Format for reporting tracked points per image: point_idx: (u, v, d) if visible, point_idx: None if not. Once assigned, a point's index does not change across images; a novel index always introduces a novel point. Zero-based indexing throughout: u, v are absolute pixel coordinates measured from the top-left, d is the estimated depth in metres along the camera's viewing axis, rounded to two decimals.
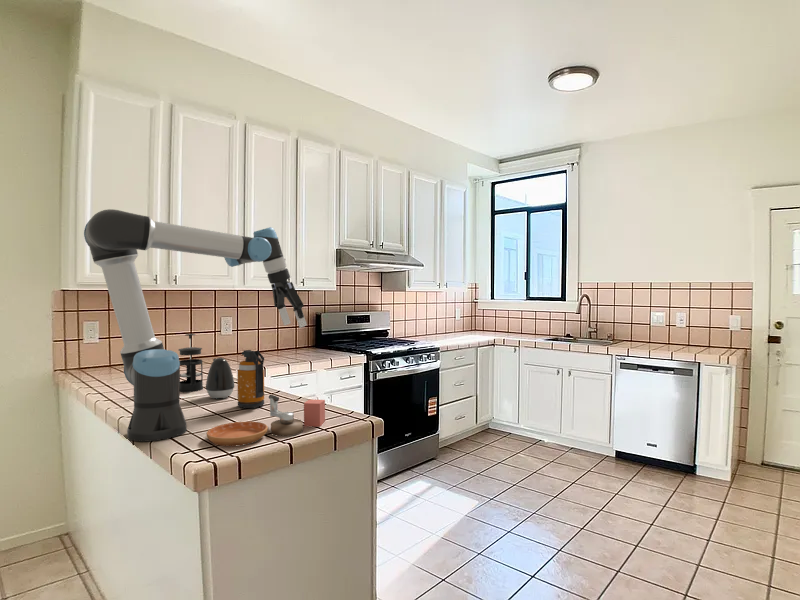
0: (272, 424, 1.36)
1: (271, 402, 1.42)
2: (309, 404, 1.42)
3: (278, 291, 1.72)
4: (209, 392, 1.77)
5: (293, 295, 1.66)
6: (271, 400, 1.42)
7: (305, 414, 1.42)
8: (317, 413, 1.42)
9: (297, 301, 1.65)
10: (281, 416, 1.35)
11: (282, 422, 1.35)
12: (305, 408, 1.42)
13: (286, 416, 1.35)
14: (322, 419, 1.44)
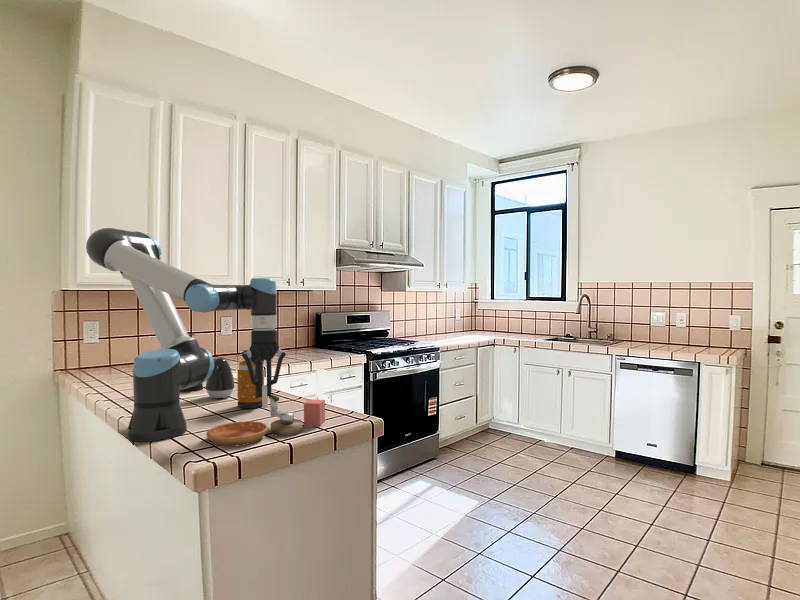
0: (272, 424, 1.36)
1: (271, 402, 1.42)
2: (309, 404, 1.42)
3: None
4: (209, 392, 1.77)
5: None
6: (271, 400, 1.42)
7: (305, 414, 1.42)
8: (317, 413, 1.42)
9: None
10: (281, 416, 1.35)
11: (282, 422, 1.35)
12: (305, 408, 1.42)
13: (286, 416, 1.35)
14: (322, 419, 1.44)
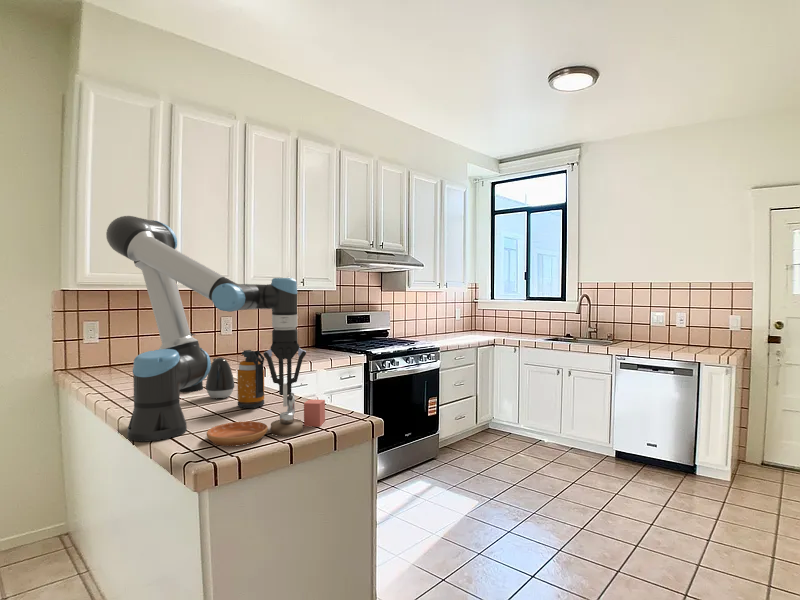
0: (272, 424, 1.36)
1: (287, 400, 1.44)
2: (309, 404, 1.42)
3: None
4: (209, 392, 1.77)
5: None
6: (287, 398, 1.44)
7: (305, 414, 1.42)
8: (317, 413, 1.42)
9: None
10: None
11: (280, 421, 1.36)
12: (305, 408, 1.42)
13: (282, 416, 1.35)
14: (322, 419, 1.44)
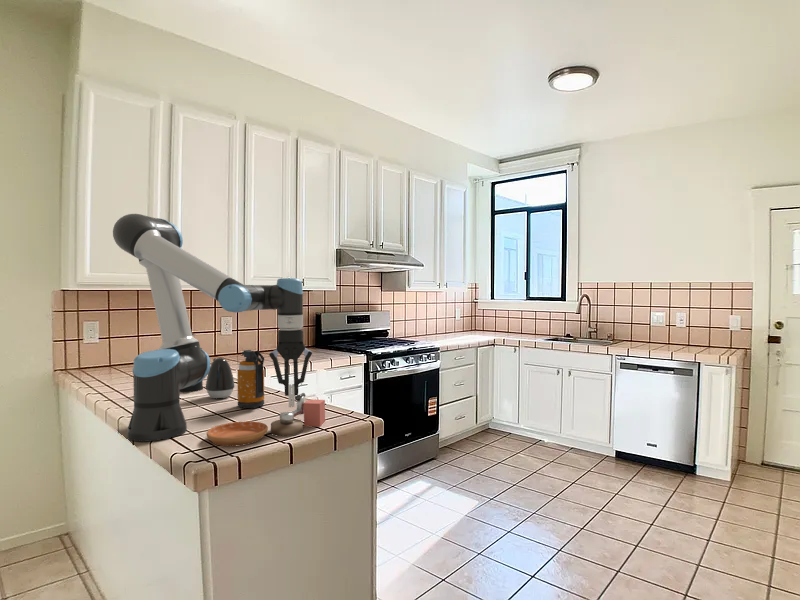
0: (272, 424, 1.36)
1: None
2: (309, 404, 1.42)
3: None
4: (209, 392, 1.77)
5: None
6: None
7: (305, 414, 1.42)
8: (317, 413, 1.42)
9: None
10: None
11: None
12: (305, 408, 1.42)
13: (280, 415, 1.36)
14: (322, 419, 1.44)
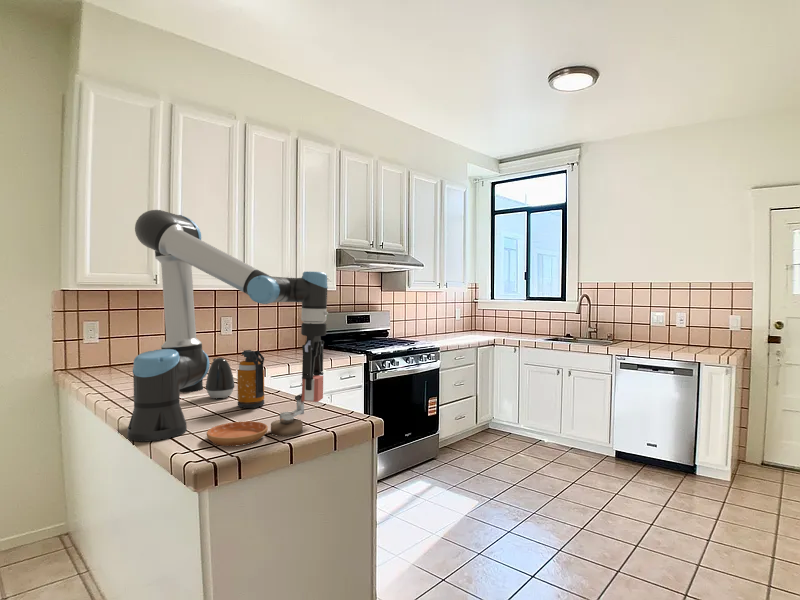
0: (272, 424, 1.36)
1: None
2: None
3: None
4: (209, 392, 1.77)
5: (304, 361, 1.38)
6: None
7: (303, 389, 1.42)
8: (315, 388, 1.42)
9: (305, 370, 1.38)
10: None
11: None
12: (303, 383, 1.42)
13: (280, 415, 1.36)
14: (320, 395, 1.44)
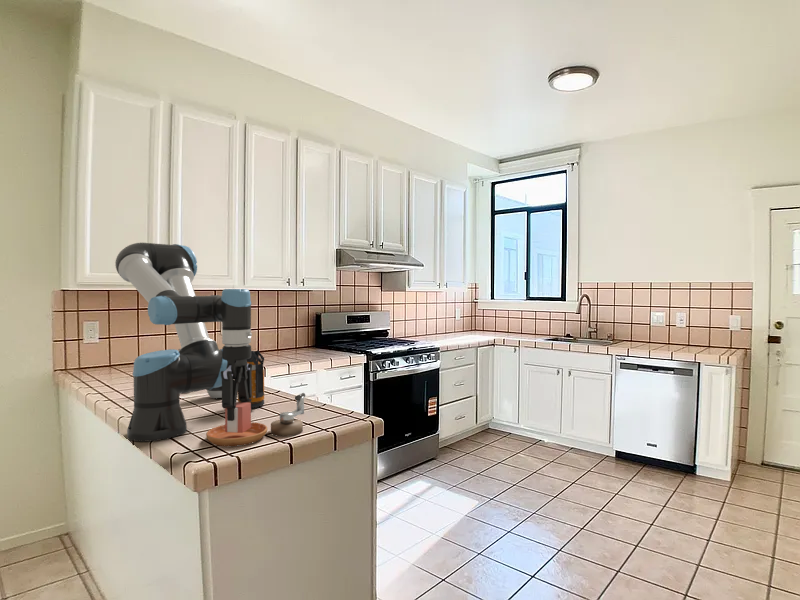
0: (272, 424, 1.36)
1: None
2: None
3: None
4: (209, 392, 1.77)
5: (224, 388, 1.24)
6: None
7: (226, 418, 1.28)
8: (239, 417, 1.28)
9: (225, 399, 1.24)
10: None
11: None
12: (226, 412, 1.28)
13: (280, 415, 1.36)
14: (246, 424, 1.30)
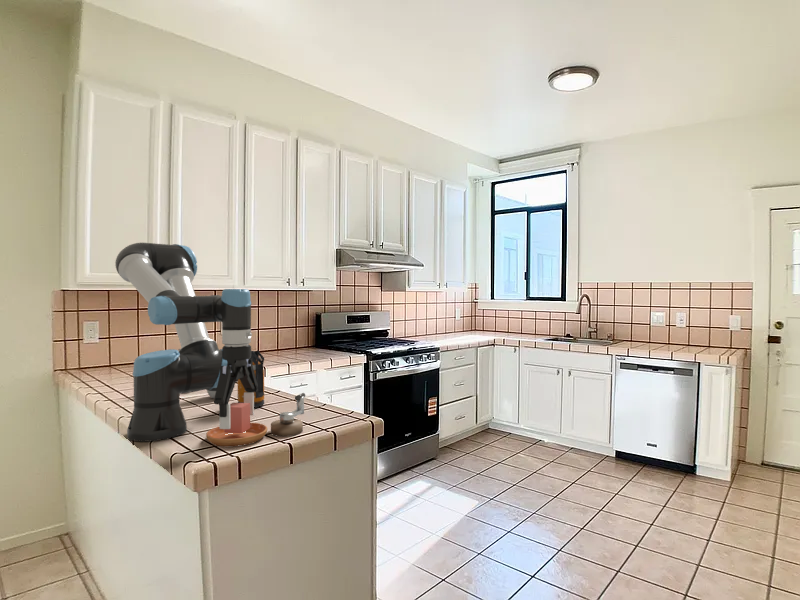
0: (272, 424, 1.36)
1: None
2: (230, 408, 1.28)
3: None
4: (209, 392, 1.77)
5: (220, 383, 1.23)
6: None
7: None
8: (239, 418, 1.28)
9: (218, 393, 1.21)
10: None
11: None
12: None
13: (280, 415, 1.36)
14: (245, 425, 1.30)
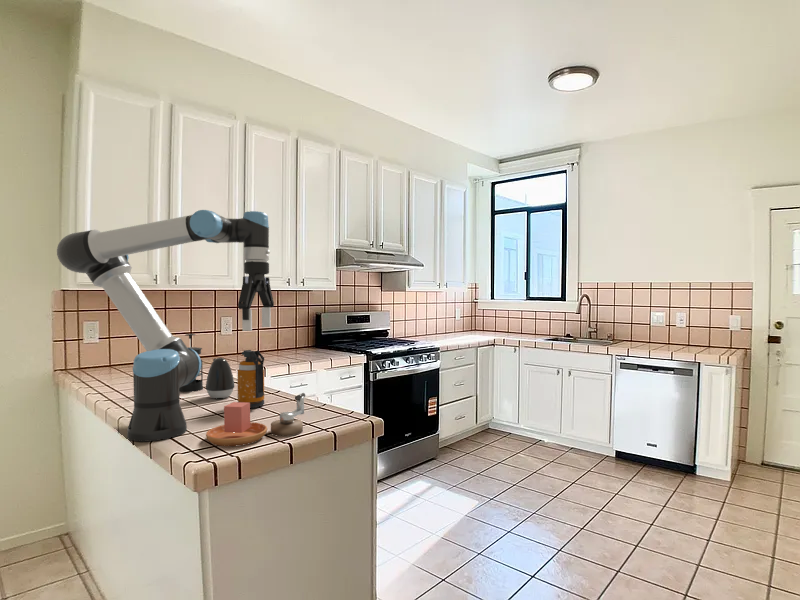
0: (272, 424, 1.36)
1: None
2: (230, 407, 1.28)
3: None
4: (209, 392, 1.77)
5: (243, 290, 1.41)
6: None
7: (226, 418, 1.28)
8: (238, 417, 1.28)
9: (242, 298, 1.40)
10: None
11: None
12: (225, 412, 1.28)
13: (280, 415, 1.36)
14: (245, 424, 1.30)
